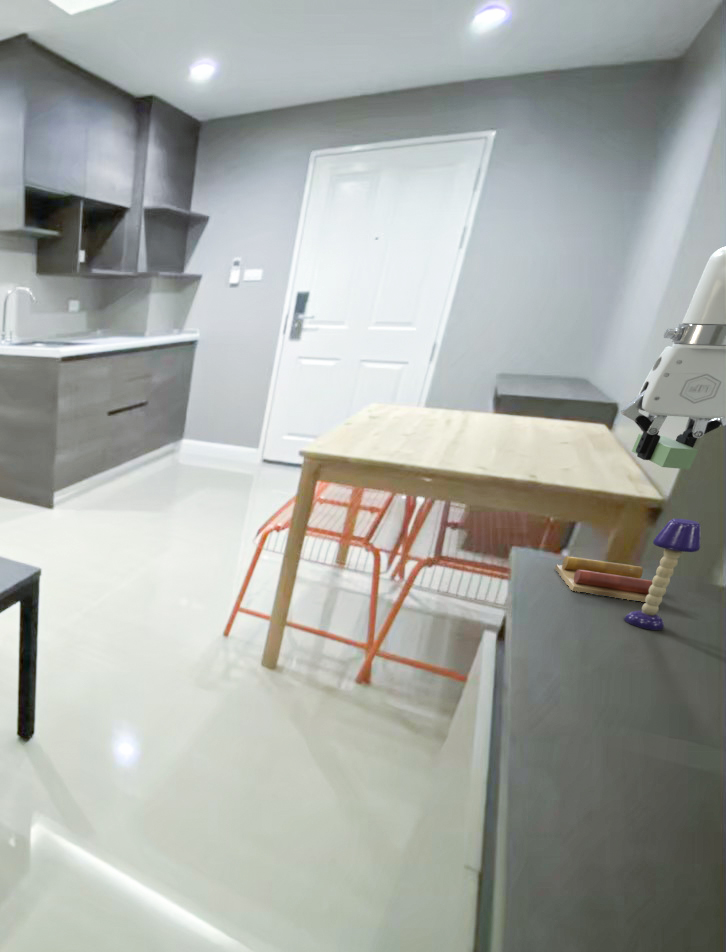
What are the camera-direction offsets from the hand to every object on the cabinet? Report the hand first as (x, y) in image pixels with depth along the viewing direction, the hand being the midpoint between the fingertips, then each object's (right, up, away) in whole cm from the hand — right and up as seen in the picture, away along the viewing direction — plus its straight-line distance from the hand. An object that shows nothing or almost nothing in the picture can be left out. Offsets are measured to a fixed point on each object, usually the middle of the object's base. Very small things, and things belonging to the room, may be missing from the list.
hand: (659, 458), depth 96 cm
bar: (0, 0, 0) cm, 0 cm away
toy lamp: (-6, -26, -2) cm, 27 cm away
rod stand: (+1, -21, +10) cm, 23 cm away
